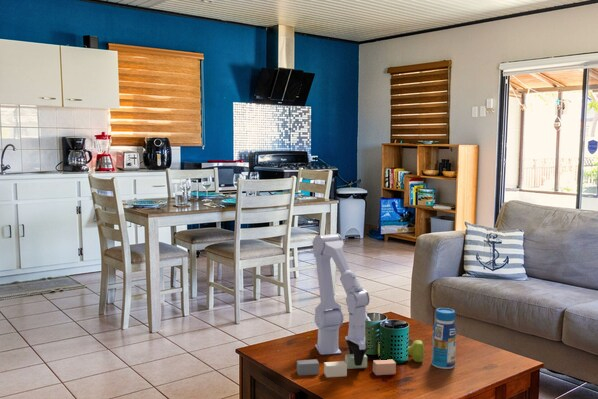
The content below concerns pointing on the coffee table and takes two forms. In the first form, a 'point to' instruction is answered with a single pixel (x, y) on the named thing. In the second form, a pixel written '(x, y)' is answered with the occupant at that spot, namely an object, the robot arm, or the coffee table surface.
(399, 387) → the coffee table surface
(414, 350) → the dumbbell
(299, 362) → the brick charcoal
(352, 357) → the brick sage
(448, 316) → the beverage bottle
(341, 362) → the brick cream
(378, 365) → the brick terracotta
